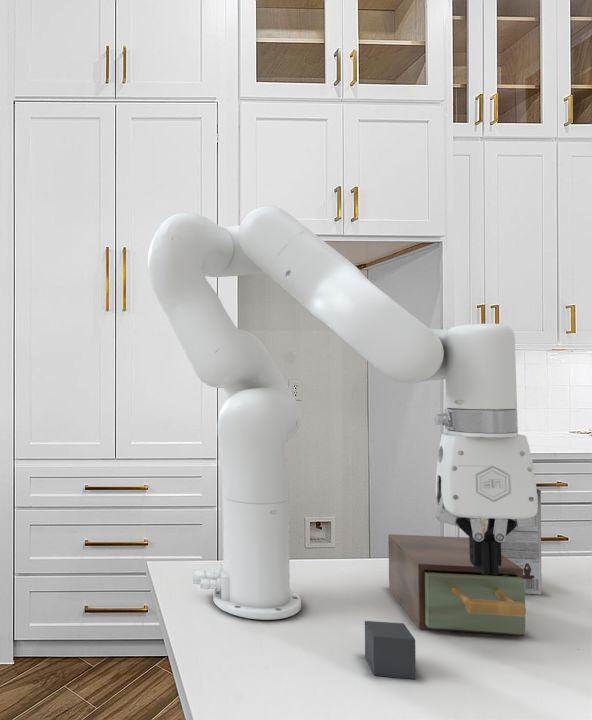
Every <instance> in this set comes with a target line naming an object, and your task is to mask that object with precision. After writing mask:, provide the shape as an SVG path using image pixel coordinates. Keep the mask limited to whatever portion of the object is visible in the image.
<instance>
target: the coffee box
mask: <svg viewBox="0 0 592 720" xmlns="http://www.w3.org/2000/svg"><path fill="white" fill-rule="evenodd" d="M536 489H537V500H538V509H537V513H536V515H534V516H533V518H534V523H533V524H532V525H528V526H523V527H516V528H514V529H513V530H512V531H511V532H510V533H509V534H508V535H507V536H506V538H505V540H504V541H503V542H501V555H503V556H504V557H506V558H507V559H509V560H510V561H512V562H513V563H515V564H516V565H518V566H519V567H521V568H522V569H523V580H525V595H540V596H541V595H542V594H543V593H542V591H543V590H542V588H543V587H542V585H543V583H542V490H541V489H538V488H536ZM486 520H487V518H481V523H482V528H483V533H485V528H486Z"/></svg>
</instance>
